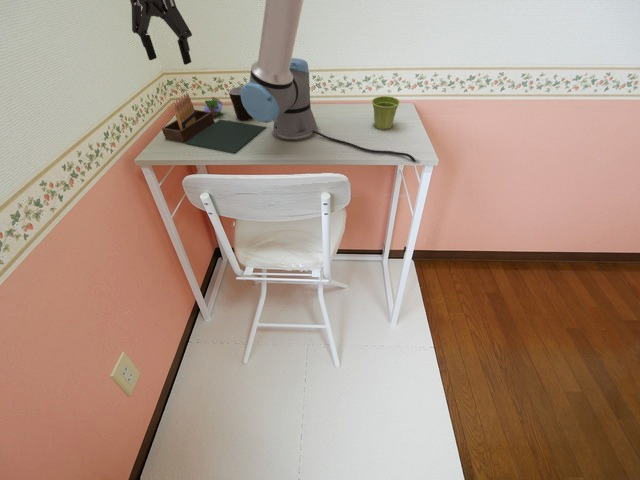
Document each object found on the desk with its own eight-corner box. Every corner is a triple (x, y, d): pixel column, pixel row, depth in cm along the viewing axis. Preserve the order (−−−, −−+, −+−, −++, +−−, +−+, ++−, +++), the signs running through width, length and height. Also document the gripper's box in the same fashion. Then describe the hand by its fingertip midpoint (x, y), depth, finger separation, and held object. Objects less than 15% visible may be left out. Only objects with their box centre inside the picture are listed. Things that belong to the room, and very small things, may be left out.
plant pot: (399, 122, 119) (403, 98, 113) (392, 133, 113) (395, 108, 107) (374, 118, 122) (376, 94, 116) (366, 129, 116) (368, 104, 110)
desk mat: (265, 127, 120) (265, 126, 119) (234, 153, 106) (234, 152, 106) (220, 120, 126) (220, 119, 125) (185, 144, 112) (185, 142, 112)
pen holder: (214, 122, 124) (211, 112, 122) (184, 143, 113) (180, 131, 110) (197, 119, 127) (193, 109, 124) (165, 139, 116) (161, 128, 113)
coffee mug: (253, 122, 123) (248, 95, 116) (231, 121, 124) (225, 94, 118) (261, 110, 132) (257, 83, 125) (241, 109, 133) (236, 83, 126)
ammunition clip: (186, 137, 116) (174, 103, 108) (181, 137, 116) (169, 102, 108) (200, 124, 124) (190, 91, 115) (195, 124, 124) (185, 91, 116)
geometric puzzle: (219, 115, 124) (218, 93, 123) (201, 116, 124) (200, 94, 123) (225, 120, 131) (224, 99, 130) (208, 120, 131) (207, 100, 130)
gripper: (191, -26, 88) (210, 61, 103) (120, -28, 95) (147, 54, 110) (172, -22, 83) (195, 68, 98) (98, -25, 90) (130, 60, 105)
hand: (170, 61), depth 104 cm, fingers open, 13 cm apart
